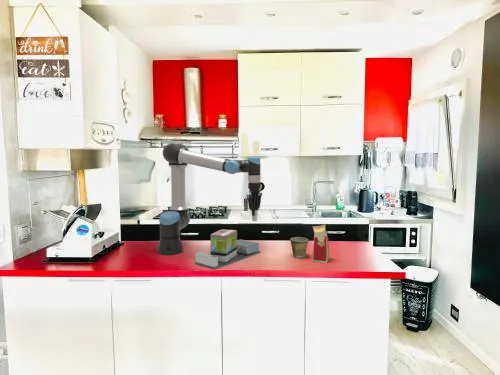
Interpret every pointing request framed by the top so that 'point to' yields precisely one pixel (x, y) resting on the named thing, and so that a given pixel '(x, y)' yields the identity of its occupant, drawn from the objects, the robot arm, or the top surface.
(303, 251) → the ceramic cup
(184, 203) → the robot arm
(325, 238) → the paper coffee bag
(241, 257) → the vise
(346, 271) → the top surface
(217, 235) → the tea box
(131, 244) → the top surface
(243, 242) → the free jaw
